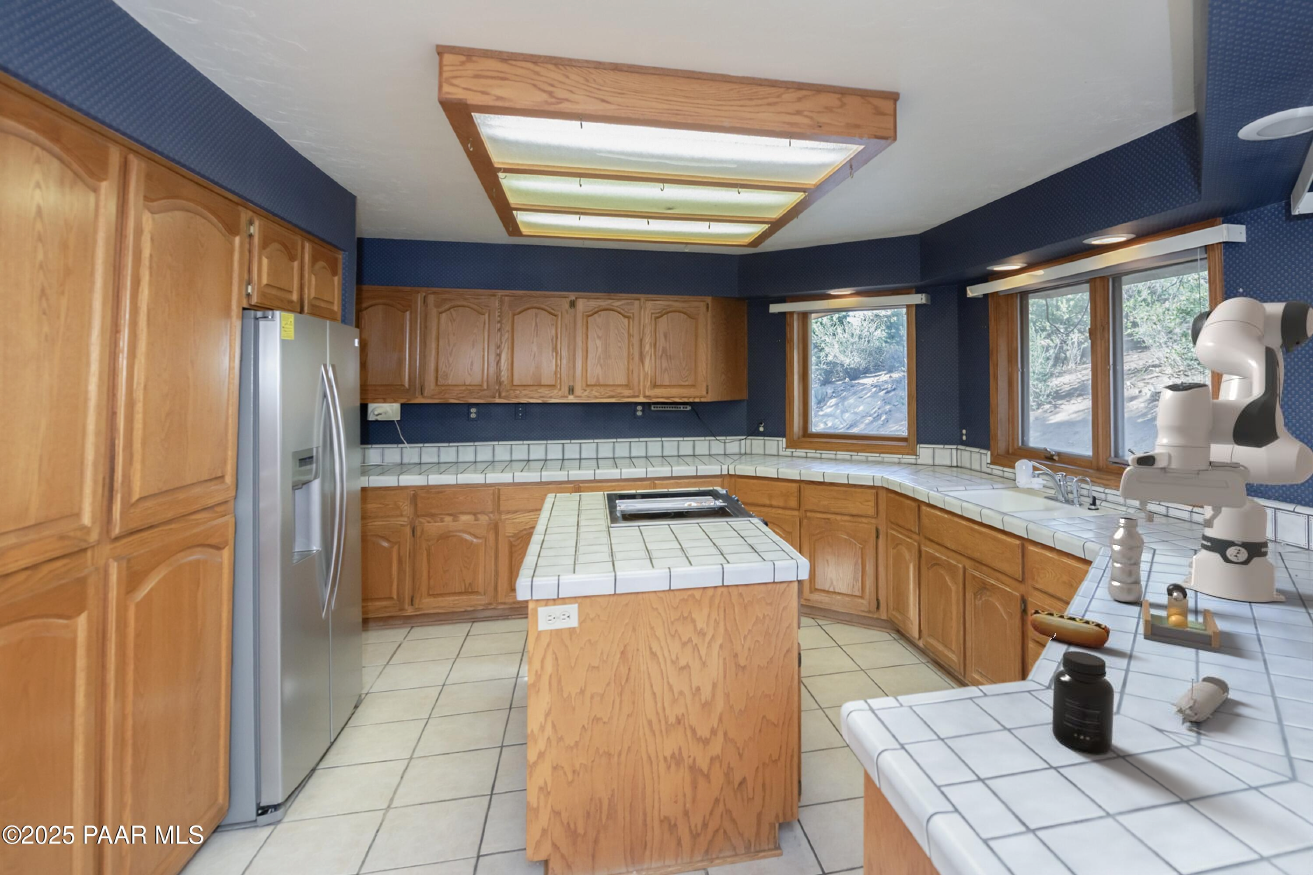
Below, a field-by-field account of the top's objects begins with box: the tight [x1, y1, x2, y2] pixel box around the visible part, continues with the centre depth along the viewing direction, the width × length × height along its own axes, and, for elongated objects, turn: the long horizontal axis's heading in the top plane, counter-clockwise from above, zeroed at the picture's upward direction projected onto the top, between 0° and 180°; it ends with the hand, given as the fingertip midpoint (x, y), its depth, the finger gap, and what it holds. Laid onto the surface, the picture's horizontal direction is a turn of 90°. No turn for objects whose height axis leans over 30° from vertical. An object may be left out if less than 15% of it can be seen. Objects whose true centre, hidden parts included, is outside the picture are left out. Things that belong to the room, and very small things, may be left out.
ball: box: [1169, 615, 1188, 629], centre depth 122 cm, size 3×3×3 cm
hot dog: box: [1029, 609, 1111, 649], centre depth 118 cm, size 5×13×5 cm, turn 43°
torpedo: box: [1169, 675, 1230, 726], centre depth 91 cm, size 18×5×7 cm, turn 125°
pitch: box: [1141, 598, 1221, 654], centre depth 123 cm, size 16×11×4 cm
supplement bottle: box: [1051, 650, 1115, 755], centre depth 83 cm, size 7×7×12 cm
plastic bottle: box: [1107, 516, 1145, 603], centre depth 142 cm, size 6×7×20 cm
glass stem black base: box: [1166, 582, 1190, 622], centre depth 126 cm, size 6×3×7 cm, turn 142°
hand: (1177, 524), depth 126 cm, fingers open, 8 cm apart
